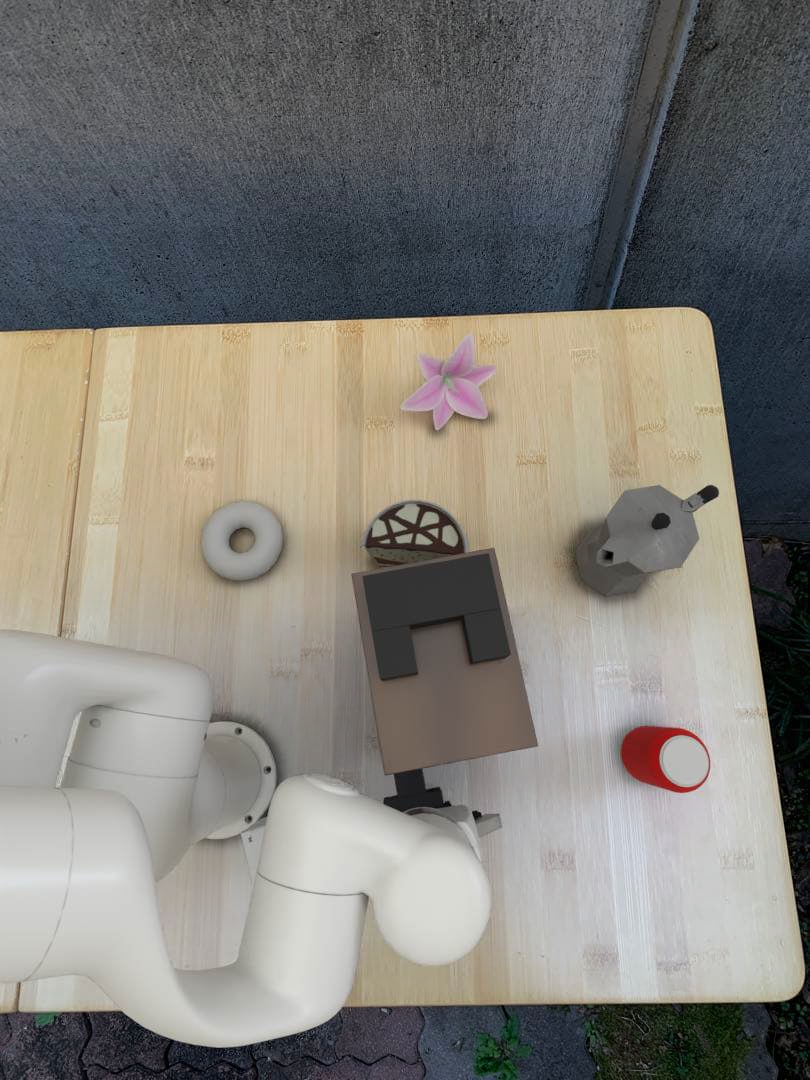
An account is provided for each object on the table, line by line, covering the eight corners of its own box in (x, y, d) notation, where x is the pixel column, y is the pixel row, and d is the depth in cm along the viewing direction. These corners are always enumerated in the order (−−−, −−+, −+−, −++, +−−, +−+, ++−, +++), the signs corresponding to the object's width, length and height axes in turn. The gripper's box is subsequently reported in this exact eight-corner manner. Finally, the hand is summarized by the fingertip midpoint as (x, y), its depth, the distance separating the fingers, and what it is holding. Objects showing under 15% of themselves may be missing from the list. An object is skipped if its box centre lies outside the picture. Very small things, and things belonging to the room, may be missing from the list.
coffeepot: (589, 621, 81) (636, 596, 64) (545, 555, 83) (578, 514, 66) (693, 555, 83) (766, 513, 66) (647, 493, 85) (706, 436, 68)
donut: (220, 595, 83) (296, 565, 84) (211, 590, 80) (291, 559, 80) (195, 522, 85) (270, 493, 86) (186, 514, 82) (263, 484, 83)
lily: (386, 422, 89) (405, 425, 80) (400, 330, 87) (421, 322, 78) (472, 436, 92) (498, 440, 83) (487, 348, 90) (516, 342, 81)
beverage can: (657, 717, 78) (698, 718, 67) (681, 770, 77) (728, 780, 65) (608, 737, 78) (642, 741, 66) (632, 791, 77) (671, 805, 65)
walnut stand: (395, 754, 78) (384, 775, 52) (372, 617, 82) (351, 573, 56) (498, 735, 78) (538, 746, 52) (470, 599, 82) (494, 547, 56)
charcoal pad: (393, 858, 70) (393, 864, 67) (378, 768, 72) (378, 770, 69) (450, 847, 70) (453, 853, 67) (434, 757, 72) (435, 759, 70)
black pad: (381, 681, 54) (379, 679, 51) (365, 583, 56) (362, 575, 53) (506, 657, 54) (511, 654, 51) (485, 561, 56) (488, 552, 53)
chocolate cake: (468, 524, 85) (475, 500, 75) (465, 573, 83) (471, 554, 73) (370, 515, 85) (364, 490, 75) (365, 563, 84) (358, 544, 74)
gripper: (321, 936, 51) (340, 878, 69) (543, 890, 52) (506, 845, 70) (307, 831, 53) (329, 801, 71) (522, 789, 54) (491, 769, 72)
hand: (417, 823), depth 70 cm, fingers closed on charcoal pad, 6 cm apart
